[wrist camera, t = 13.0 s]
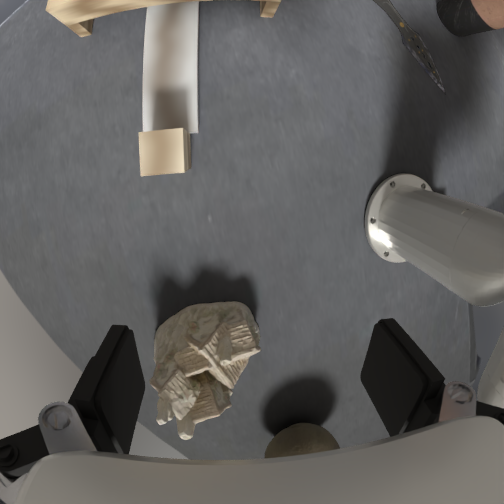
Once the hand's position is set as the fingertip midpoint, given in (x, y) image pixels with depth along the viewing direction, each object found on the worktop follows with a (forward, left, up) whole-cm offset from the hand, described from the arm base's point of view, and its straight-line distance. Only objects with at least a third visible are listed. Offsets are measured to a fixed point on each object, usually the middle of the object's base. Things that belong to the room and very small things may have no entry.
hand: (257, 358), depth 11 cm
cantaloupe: (-10, +41, -26) cm, 50 cm away
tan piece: (+6, -18, -26) cm, 32 cm away
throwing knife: (-27, -26, -27) cm, 46 cm away
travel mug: (-37, -34, -26) cm, 57 cm away
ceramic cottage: (+3, +20, -26) cm, 33 cm away
